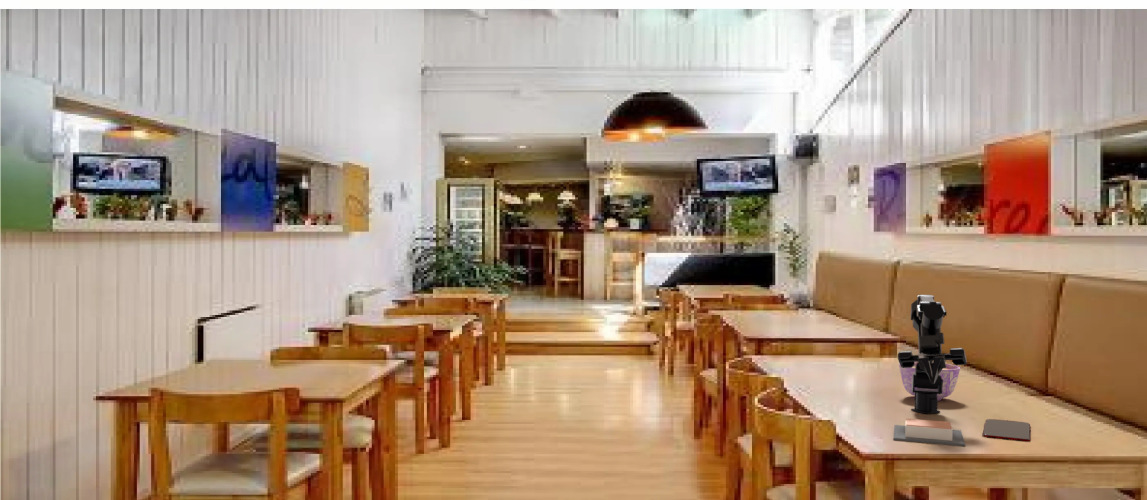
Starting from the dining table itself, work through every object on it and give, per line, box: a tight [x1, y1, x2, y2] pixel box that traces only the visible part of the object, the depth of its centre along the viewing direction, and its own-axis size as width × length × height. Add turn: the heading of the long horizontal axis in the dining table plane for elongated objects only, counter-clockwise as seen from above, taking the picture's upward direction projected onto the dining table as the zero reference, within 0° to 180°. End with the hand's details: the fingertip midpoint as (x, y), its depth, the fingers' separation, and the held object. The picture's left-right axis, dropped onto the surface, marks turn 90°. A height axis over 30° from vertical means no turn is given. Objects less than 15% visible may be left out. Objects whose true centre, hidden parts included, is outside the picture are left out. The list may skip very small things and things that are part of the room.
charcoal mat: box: [892, 424, 966, 447], centre depth 253 cm, size 19×18×1 cm
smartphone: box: [982, 418, 1031, 443], centre depth 262 cm, size 12×2×25 cm
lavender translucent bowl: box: [898, 362, 961, 401], centre depth 315 cm, size 20×20×12 cm
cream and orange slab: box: [904, 418, 954, 441], centre depth 252 cm, size 3×12×10 cm
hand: (932, 383), depth 267 cm, fingers closed
